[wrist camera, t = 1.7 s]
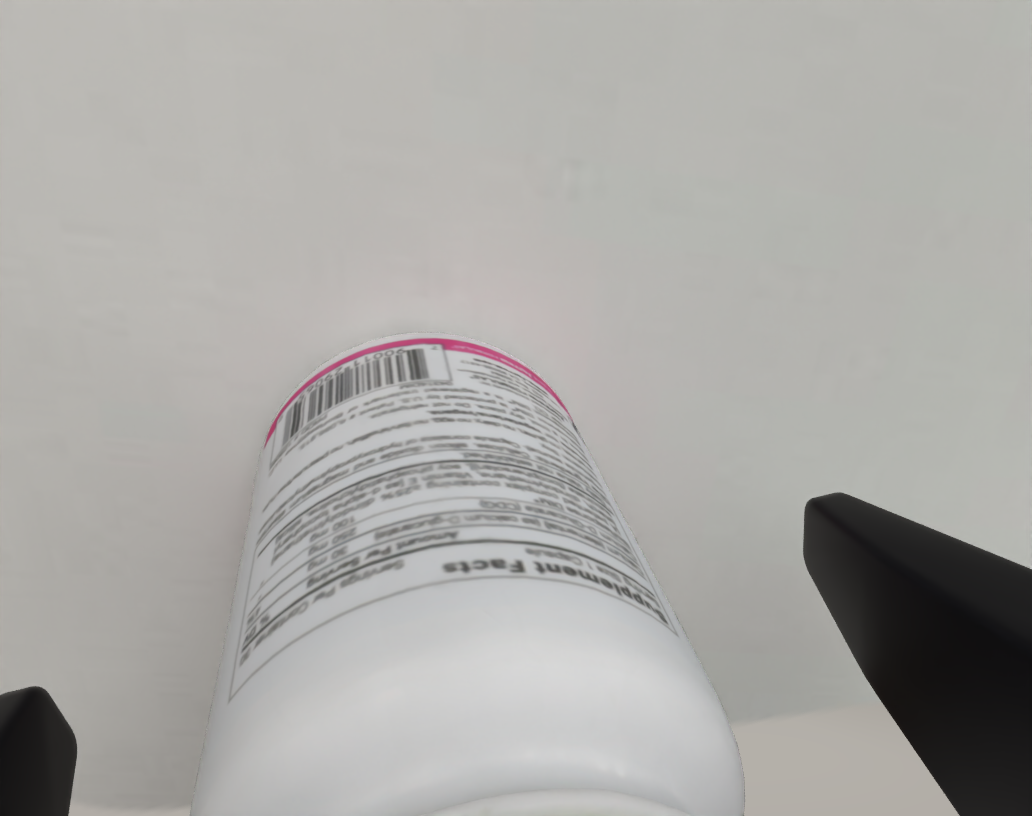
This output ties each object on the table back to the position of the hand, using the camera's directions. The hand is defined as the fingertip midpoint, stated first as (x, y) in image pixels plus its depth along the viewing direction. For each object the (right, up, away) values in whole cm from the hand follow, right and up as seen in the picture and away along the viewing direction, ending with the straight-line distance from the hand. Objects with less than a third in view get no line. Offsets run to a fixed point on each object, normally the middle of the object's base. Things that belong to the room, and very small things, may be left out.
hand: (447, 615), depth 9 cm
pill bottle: (-1, +2, +3) cm, 3 cm away
